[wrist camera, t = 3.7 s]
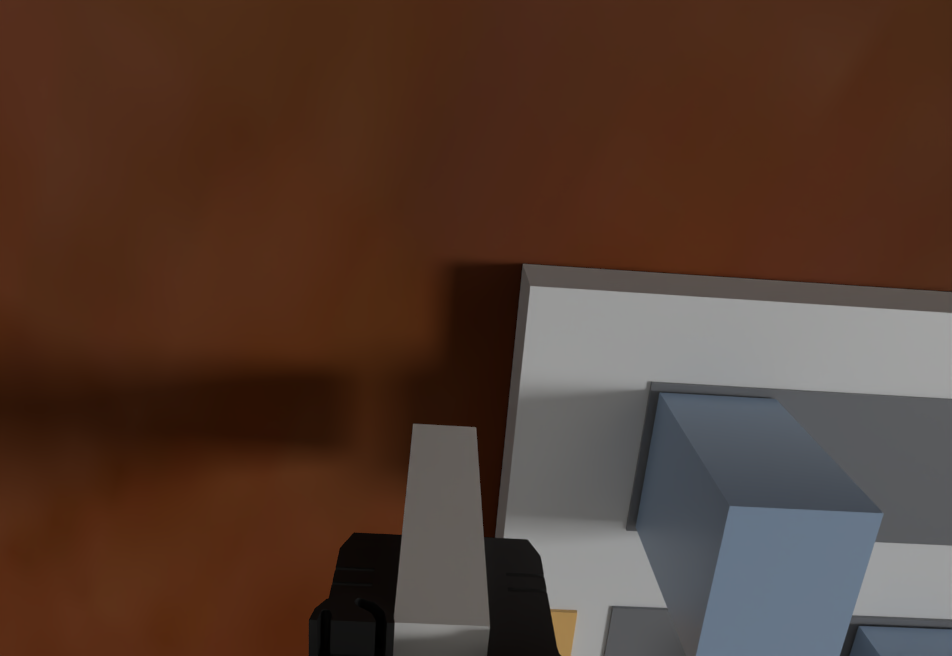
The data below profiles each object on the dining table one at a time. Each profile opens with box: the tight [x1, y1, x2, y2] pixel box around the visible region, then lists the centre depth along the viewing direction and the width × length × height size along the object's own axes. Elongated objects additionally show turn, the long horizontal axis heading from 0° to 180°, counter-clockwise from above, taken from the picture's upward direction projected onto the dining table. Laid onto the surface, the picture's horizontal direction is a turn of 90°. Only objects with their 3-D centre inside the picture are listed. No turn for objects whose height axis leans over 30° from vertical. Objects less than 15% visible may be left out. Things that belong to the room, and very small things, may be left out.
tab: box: [636, 392, 884, 656], centre depth 17 cm, size 4×3×5 cm
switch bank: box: [495, 264, 952, 656], centre depth 23 cm, size 23×17×3 cm
